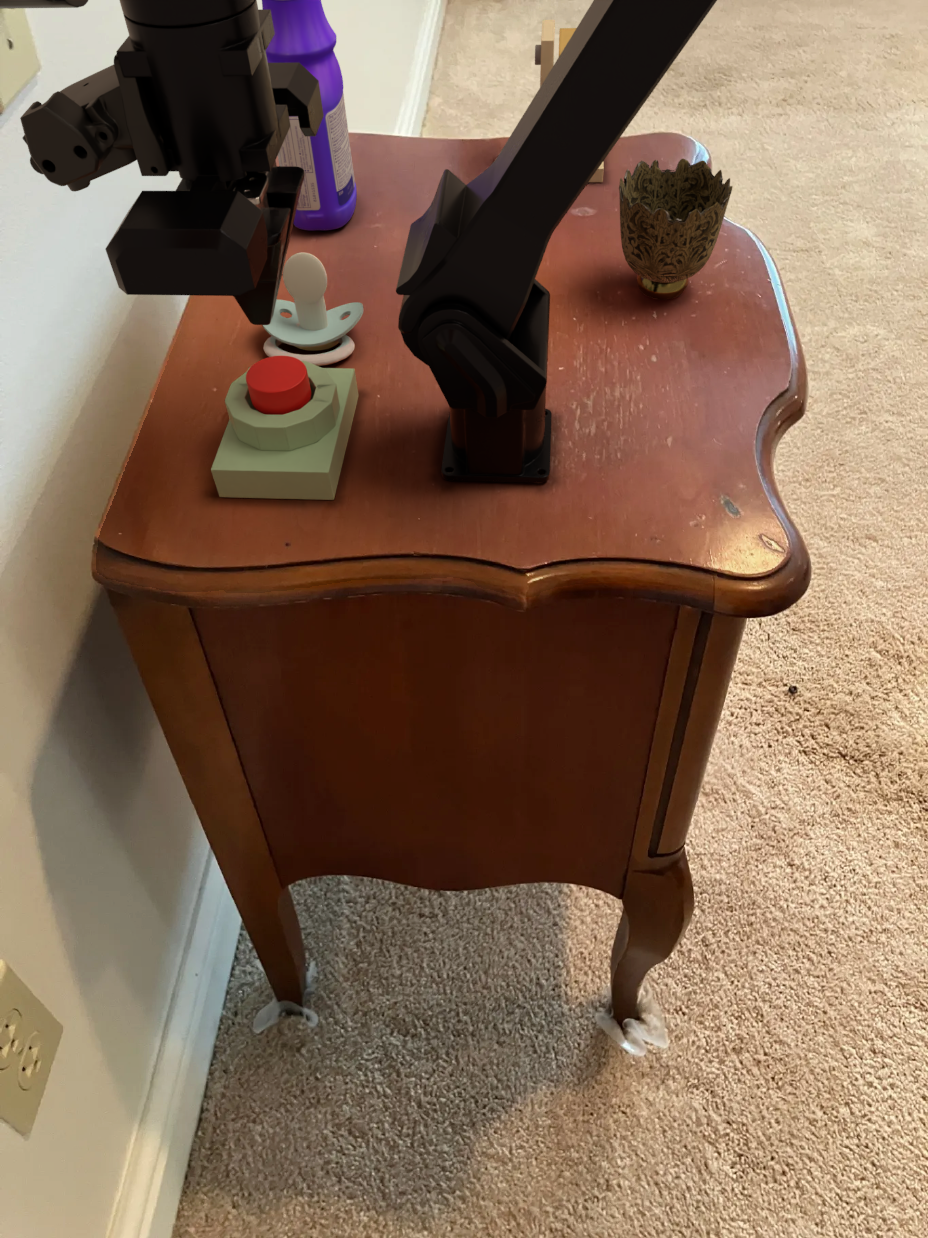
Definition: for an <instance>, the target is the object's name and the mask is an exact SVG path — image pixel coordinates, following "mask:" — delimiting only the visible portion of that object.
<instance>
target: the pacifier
mask: <svg viewBox="0 0 928 1238" xmlns="http://www.w3.org/2000/svg"><path fill="white" fill-rule="evenodd" d="M282 279H283V284H284V287H285V289H286V291H287V292H288V294H289V295H290V296H291V298H293V301H294V302H293V301H290V300H285V299H277V300H276V305H275V309H274V314H273V317H272V320H271V322H270V324H269V325H261V326H262V328H263V330H265V331H266V333H268V334H269V336H270V337H268V338H267V339H266V340H265V342H264V343H263V351H264V353H265V355H266V356H267V357H272V356H290V357H294V358H297V359H299V360H300V361H307V362H309V363H312V364H314V365H316V366H319V367H321V366H328V365H332V364H336V363H338V362H340V361H343V360H345V359H347V358H348V357H350V356H351V355H352V354H353V352H354V351H355V346H356V345H355V342H354V341H353V339H352V338H351V337H350V336H348V335H347V334H348V333H350V331H351V330H352V329H353V328H354V327H355V326H356V325H357V324H358V323H359V322H360V321H361V318H362V317H363V314H364V305H363V303H362V302H359V301H356V302H355V301H353V302H349V303H344V304H342V305H339V306H338V305H337V306H336V307H333V308H331V309H328V310H327V306H326V302H325V301H326V300H325V293H326V291H327V287H328V274H327V271H326V268H325V266H324V264H323V263H322V261H321V260H320V259H319V258H318V257H316V256H315V255H314V254H313V253H309V252H304V251H303V252H301V251H300V252H297V253H294V254H292V255H291V256H290V257H289V258H288V259H287V260H285V263H284V267H283V272H282ZM283 313H287V314H288V315H291V316H290V317H285V316H284V315H282V314H283ZM344 317H346V318H344ZM343 318H344V319H343ZM282 344H287V345H289V346H293V347H295V348H296V349H300V350H303V351H313V352H314V351H316V352H317V351H324V350H329V349H331V348H333V347H336V346H337V345H338V344H340V345H339V346H338V347H336V348H335V349H333V350H330V351H327V352H322V353H315V354H300V353H293V352H288V351H286V350H283V349H282V348H280V347H279V346H280V345H282Z"/></svg>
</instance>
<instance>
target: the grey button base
mask: <svg viewBox="0 0 928 1238" xmlns="http://www.w3.org/2000/svg"><path fill="white" fill-rule="evenodd" d="M302 362H303V363H304V365H305V366H306V369H307V373H308V378H309V383H310V388H311V398H310V400H309V402H308V403H307V404H306V405H305V406H303V407H302V408H301V409H299V410H296V411H293V412H289V413H286V414H283V415H271V414H263V413H261V412H259V411H258V410H256V409H255V408H254V406H253V404H252V401H251V398H250V394H249V390H248V386H247V382H246V374H247V371H248V370H249V368H250V367H251V366H248V368H247V370H246V371H245V372H244V373H243V374H241V375H240V376H239V377H238V378H236V379H234V380H233V381H232V382H231V383H230V386H229V388H228V391H227V393H226V396H225V399H224V405H225V407H226V411H227V415H228V418H229V419H228V422H227V425H226V428H225V430H224V433H223V435H222V438H221V441H220V443H219V446H218V448H217V451H216V454H215V456H214V459H213V462H212V465H211V468H210V472H211V475H212V478H213V481H214V484H215V487H216V491H217V494H218V497H219V498H237V499H238V498H239V499H240V498H241V499H243V498H244V499H278V500H279V499H281V500H316V501H317V500H322V501H334V500H335V496H336V493H337V489H338V485H339V481H340V477H341V472H342V467H343V463H344V459H345V454H346V451H347V447H348V443H349V439H350V435H351V430H352V425H353V421H354V417H355V413H356V409H357V405H358V401H359V396H360V394H359V387H358V382H357V376H356V369H355V368H352V367H351V368H350V367H349V368H346V367H321V366H316V365H314V364H312V363H309V362H307V361H302Z"/></svg>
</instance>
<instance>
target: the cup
mask: <svg viewBox="0 0 928 1238" xmlns="http://www.w3.org/2000/svg"><path fill="white" fill-rule="evenodd" d="M659 165H660V164H659V161H658V159H654V160H653V161H652V162H651V164H650V165H649V164H648V163H647V162H646V161H644V160H640V161H639V162H638V163H637V164H636V166H635V167H634V170H633V173H631V171H630V169H629V168H627V169H626V170H625V172H624V177H623V178H622V177H620V179H619V185H618V193H619V228H620V229H619V230H620V242H621V243H620V244H621V248H622V253H623V257H624V259H625V261H626V263H627V265H628V267H629V268H630V269H631V270H632V271H633V272H634V273H635V274H636V275H637V276H636V284H637V287H638V289H639V291H640V292H641V293H642V294H643V295H644V296H646V297H648V298H649V299H654V300H660V301H668V300H673V299H675V298H677V297H680V296H681V295H682V294H683V293H684V292H685V290H686V289H687V288H688V285H689V278H692V277H693V276H695V275H696V274H697V273H699V272H701V270H702V269H703V268H704V267H705V265H706V264H707V262H708V261H709V259H711V255H712V254H713V251H714V249H715V246H716V244H717V241H718V238H719V234H720V231H721V228H722V225H723V222H724V218H725V215H726V212H727V207H728V205H729V202H730V198H731V195H732V191H733V185H731V178H730V177H729V178H728V179H726V180H725V182H723V181H724V178H723V171H722V169H720V170H718V171H717V172H716V173H715V175H714V174H713V170H712V169H711V167H709V165H708V164H707V161H705V160H699V161H697V162H696V163H693V164H690V161H689V160H687V159H685V158H680V159H679V161H678V163H677V165H676V168H675V169H672V170H671V169H669V168H666V169H661V168H660V167H659Z"/></svg>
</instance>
